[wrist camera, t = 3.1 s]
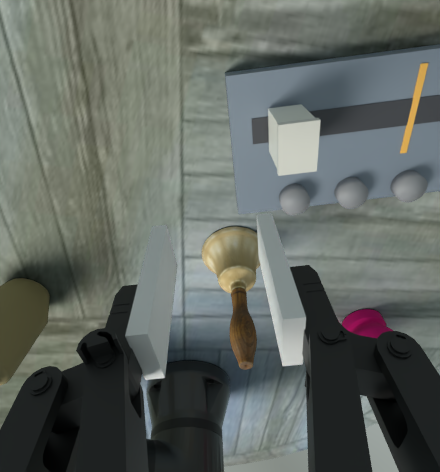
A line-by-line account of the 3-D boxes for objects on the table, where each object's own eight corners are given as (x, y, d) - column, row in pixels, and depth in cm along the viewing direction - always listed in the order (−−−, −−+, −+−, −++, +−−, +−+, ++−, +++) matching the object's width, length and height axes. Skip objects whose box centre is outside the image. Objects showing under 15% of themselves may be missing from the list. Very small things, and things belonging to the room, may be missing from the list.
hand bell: (268, 270, 43) (295, 382, 30) (209, 280, 44) (210, 394, 31) (261, 220, 38) (291, 328, 25) (195, 232, 39) (190, 343, 26)
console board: (237, 205, 37) (240, 224, 33) (224, 72, 28) (227, 80, 25) (445, 180, 36) (469, 197, 33) (494, 36, 28) (533, 40, 24)
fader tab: (267, 152, 31) (278, 175, 26) (267, 107, 28) (278, 125, 24) (300, 148, 31) (316, 171, 26) (302, 102, 28) (320, 119, 24)
